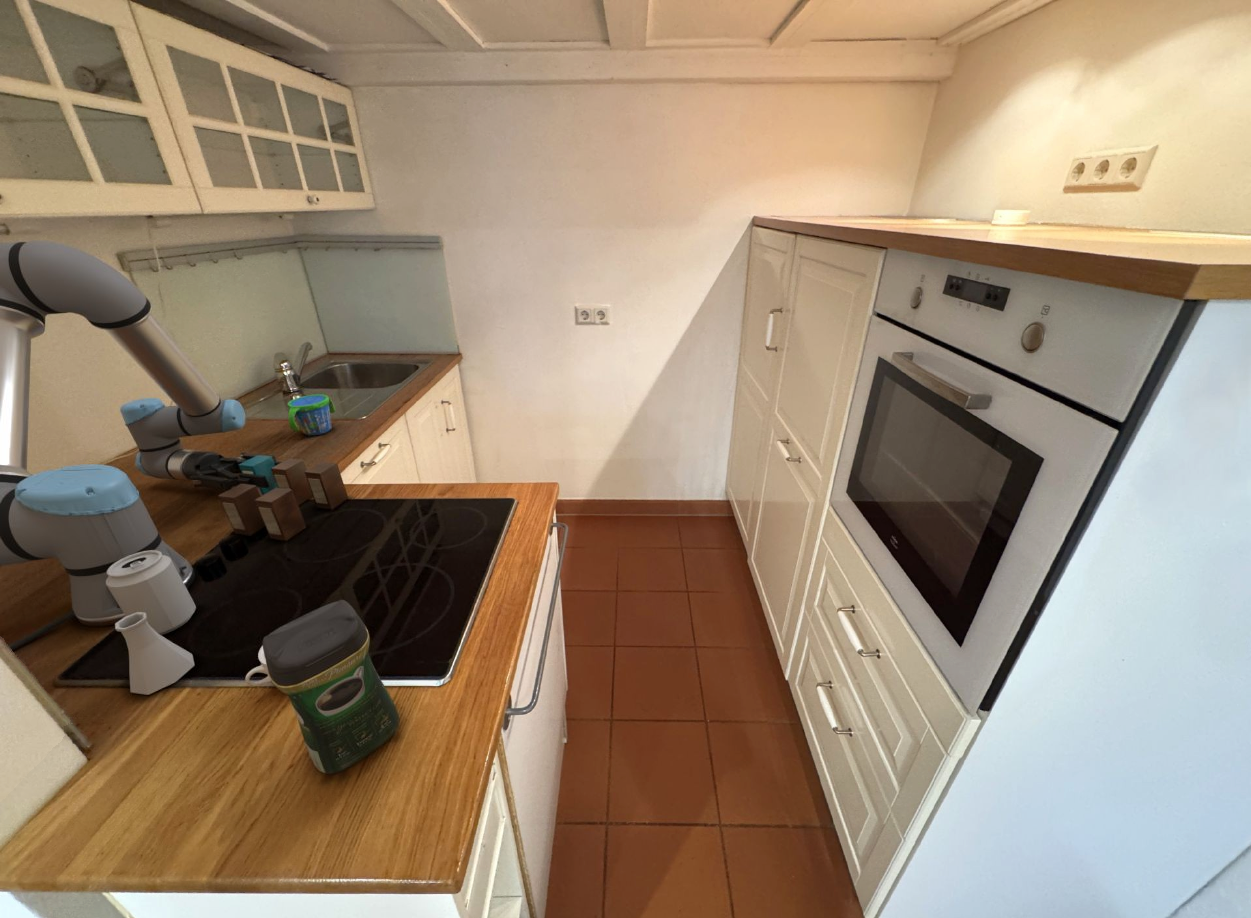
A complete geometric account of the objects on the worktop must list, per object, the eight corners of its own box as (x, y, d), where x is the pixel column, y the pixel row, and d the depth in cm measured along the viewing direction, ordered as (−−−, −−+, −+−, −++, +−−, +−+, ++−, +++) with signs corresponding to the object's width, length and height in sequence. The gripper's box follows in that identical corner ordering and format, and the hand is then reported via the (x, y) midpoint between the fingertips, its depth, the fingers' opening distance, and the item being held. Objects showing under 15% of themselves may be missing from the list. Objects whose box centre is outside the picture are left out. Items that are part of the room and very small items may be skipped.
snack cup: (309, 443, 143) (298, 410, 138) (282, 440, 146) (270, 407, 141) (352, 423, 156) (343, 392, 152) (325, 421, 159) (316, 390, 155)
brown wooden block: (285, 541, 99) (269, 502, 95) (269, 539, 100) (253, 500, 96) (306, 527, 103) (292, 489, 99) (290, 525, 104) (276, 487, 100)
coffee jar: (383, 693, 66) (345, 583, 58) (409, 731, 61) (370, 617, 53) (303, 743, 60) (247, 628, 52) (323, 790, 55) (265, 671, 47)
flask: (119, 683, 69) (82, 629, 65) (180, 647, 75) (150, 595, 70) (144, 704, 66) (107, 648, 62) (205, 664, 72) (176, 611, 67)
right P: (331, 510, 109) (318, 473, 105) (316, 508, 110) (303, 472, 106) (348, 498, 114) (337, 463, 110) (333, 496, 115) (322, 461, 111)
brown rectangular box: (297, 505, 111) (284, 470, 107) (283, 504, 112) (269, 468, 108) (315, 494, 116) (303, 459, 112) (301, 492, 117) (289, 458, 113)
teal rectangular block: (266, 501, 114) (251, 466, 110) (252, 499, 115) (237, 464, 111) (285, 490, 118) (272, 456, 114) (271, 488, 119) (258, 455, 115)
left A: (249, 536, 101) (232, 498, 97) (234, 534, 102) (216, 496, 98) (271, 522, 106) (256, 485, 102) (256, 520, 106) (240, 483, 102)
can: (189, 599, 84) (157, 541, 79) (205, 617, 80) (173, 556, 75) (131, 626, 79) (93, 566, 74) (146, 647, 75) (107, 584, 70)
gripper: (241, 463, 128) (315, 470, 122) (164, 500, 111) (246, 511, 106) (230, 436, 124) (306, 443, 119) (149, 470, 108) (233, 480, 103)
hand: (278, 475), depth 113 cm, fingers open, 6 cm apart
